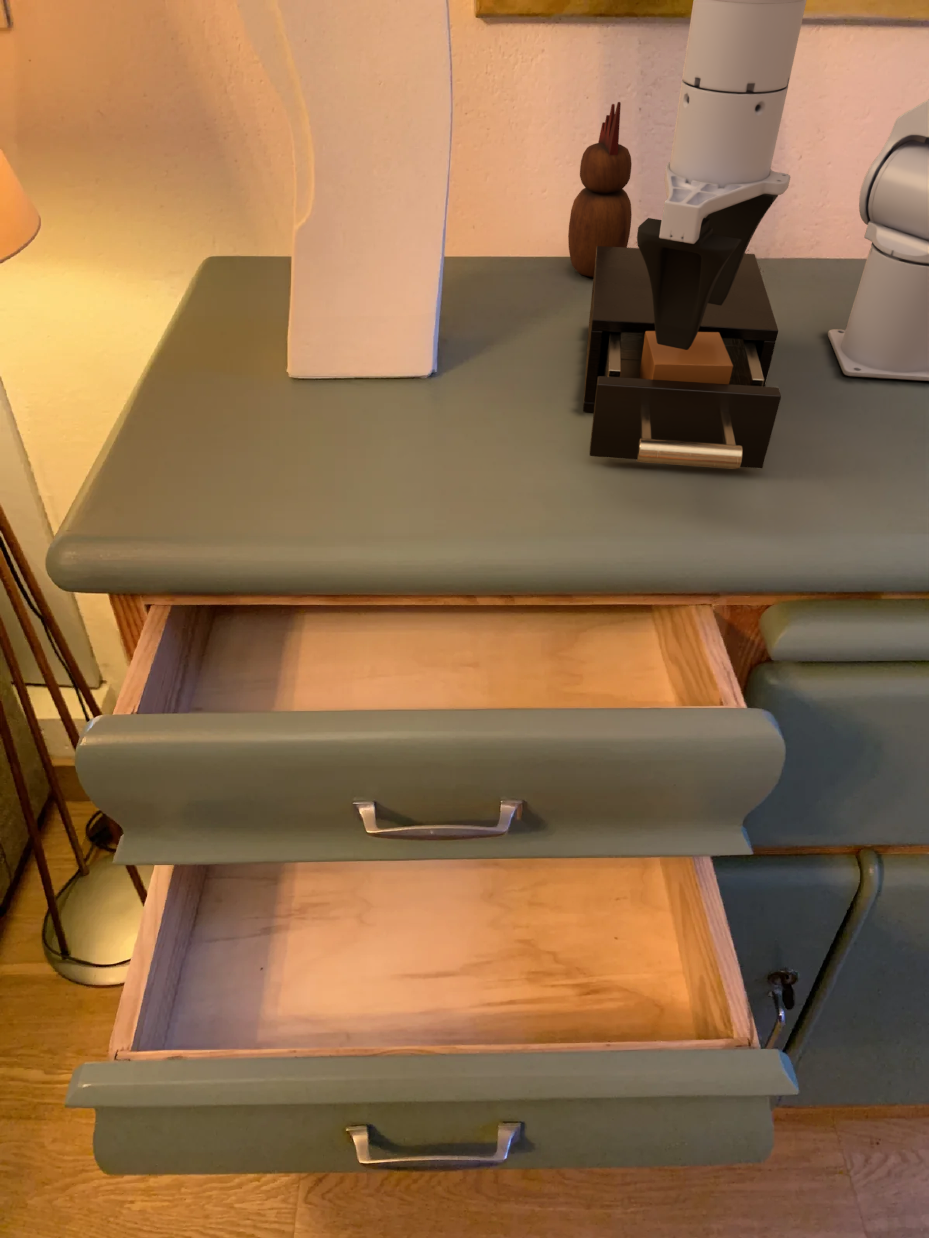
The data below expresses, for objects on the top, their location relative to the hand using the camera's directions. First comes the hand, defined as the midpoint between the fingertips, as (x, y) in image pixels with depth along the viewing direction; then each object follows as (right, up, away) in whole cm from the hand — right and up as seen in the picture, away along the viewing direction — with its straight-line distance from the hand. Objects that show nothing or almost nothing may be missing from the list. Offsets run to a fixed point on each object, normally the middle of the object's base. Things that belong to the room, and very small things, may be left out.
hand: (691, 322), depth 58 cm
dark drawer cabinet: (+1, 0, +13) cm, 13 cm away
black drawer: (0, -6, +4) cm, 8 cm away
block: (0, -5, +4) cm, 7 cm away
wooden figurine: (-2, +15, +29) cm, 33 cm away
